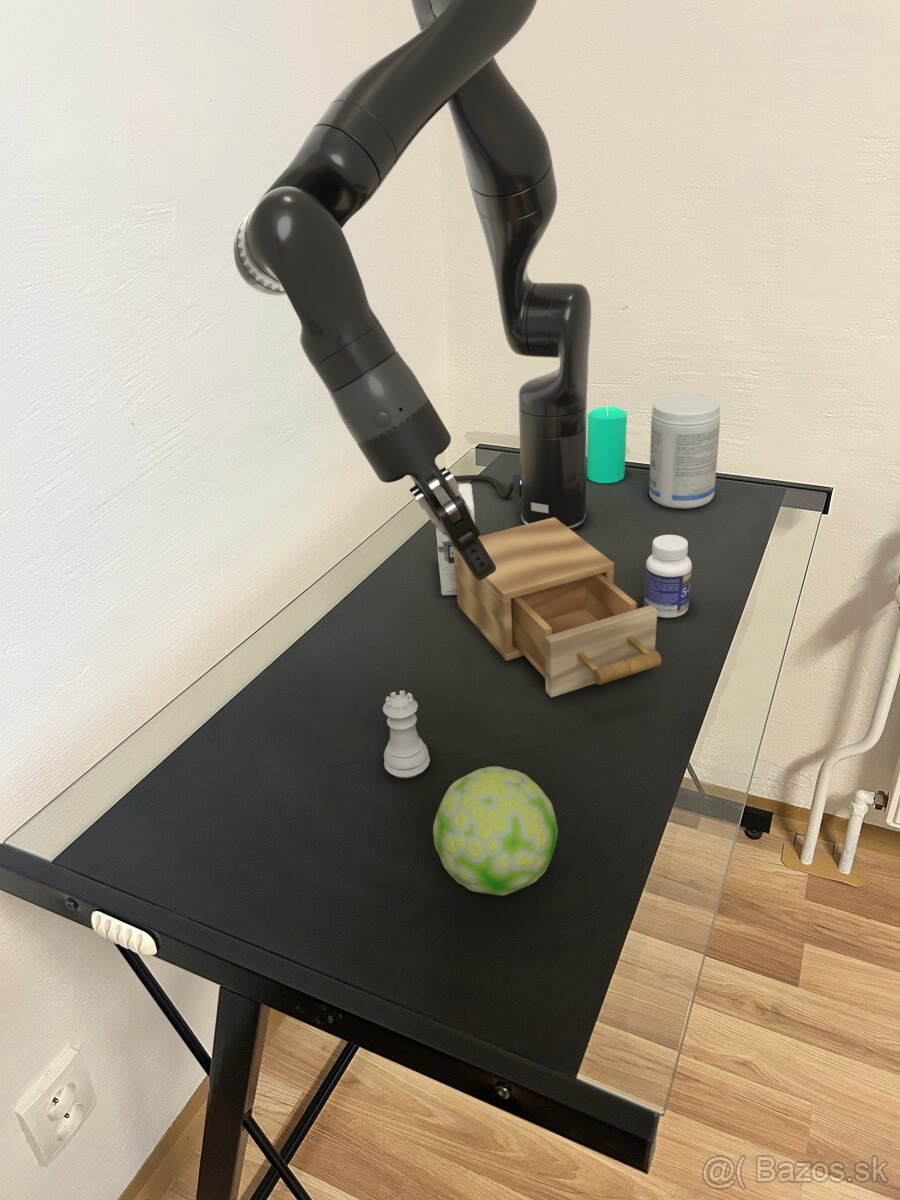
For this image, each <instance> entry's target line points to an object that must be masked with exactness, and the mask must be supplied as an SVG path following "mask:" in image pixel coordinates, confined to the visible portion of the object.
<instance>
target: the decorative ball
mask: <svg viewBox="0 0 900 1200" xmlns="http://www.w3.org/2000/svg"><path fill="white" fill-rule="evenodd" d="M555 814H556V813H555V811H554V808H553V803H552V801H551V800H550V799H549V797H548V796H547V795H546V793H545V792H544V791H543V790H542V789H541V787H540V786H539V785H538V784H537V782H535V781H533V780H532V779H531V778H530V777H529V776H528V775H527V774H526V773H523V772H521V771H519V770H517V769H516V770H515V769H510V768H506V767H502V766H487V767H482V768H479V769H476V770H474V771H472V772H470V773H468V774H466V775H464V776H462V777H461V778H458V779H457V780H455V781H454V782H453V783H452V784H451V785H450V786H449V787H448V788H447V790H446V792H445V793H444V795H443V798H442V799H441V801H440V804H439V806H438V809H437V811H436V814H435V818H434V822H433V824H432V825H433V826H432V834H433V844H434V847H435V850H436V852H437V854H438V856H439V859H440V861H441V864H442V866H443V868H444V869H445V871H446V872H447V873H448V875H449V876H450V877H451V878H452V879H454V881H455V882H456V883H458V884H459V885H461V886H463V887H465V889H467V890H469V891H472V892H474V893H480V894H487V895H494V896H501V897H502V896H503V897H505V896H506V895H509V894H513V893H515V892H518V891H519V890H522V889H525V888H526V887H529V886H530V885H533V884H534V883H536V882H537V881H538V880H539V879H540V877H542V876H543V875H544V874H545V873H546V871H547V869H548V867H549V865H550V863H551V860H552V858H553V855H554V851H555V849H556V845H557V841H558V835H559V830H558V829H559V828H558V824H557V818H556V817H557V816H556V815H555Z"/></svg>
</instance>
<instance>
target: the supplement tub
mask: <svg viewBox="0 0 900 1200" xmlns="http://www.w3.org/2000/svg"><path fill="white" fill-rule="evenodd" d="M720 407H721V404H720V402H719V400H718V399H717V398H715V397H712V396H710V395H706V394H700V393H674V394H668V395H664V396H661V397H659V398H657V399H655V400H654V402H653V404H652V410H651V422H650V423H651V424H650V454H649V455H650V456H649V484H648V485H649V491H648V493H649V494H648V495H649V497H650V498H651V500H652V501H653V502H654V503H656V504H658V505H660V506H662V507H666V508H669V509H683V510H687V509H689V510H690V509H695V508H700V507H703V506H704V505H707V504H708V503H710V502H711V501H712V500H713V499H714V496H715V493H716V480H717V479H716V478H717V467H718V465H717V464H718V454H719V453H718V452H719V439H720V426H721V425H720V424H721V412H720V409H721V408H720Z"/></svg>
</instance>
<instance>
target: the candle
mask: <svg viewBox="0 0 900 1200" xmlns="http://www.w3.org/2000/svg"><path fill="white" fill-rule="evenodd" d="M627 419H628V411H625V410H623V409H621V408H619V407H617V406H609V403H608V402H607V403H606V406H604V407H597V408H594V409H592V410H591V411H589V412H588V413H587V431H586V478H588V480H589V481H592V482H595V483H598V484H611V483H618V482H620V481H622V480H624V478H625V475H626V474H625V473H626V447H627V446H626V445H627V423H628V422H627V421H628V420H627Z"/></svg>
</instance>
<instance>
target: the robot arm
mask: <svg viewBox="0 0 900 1200" xmlns="http://www.w3.org/2000/svg"><path fill="white" fill-rule="evenodd" d="M409 1H410V4H411V9H412V12H413V15H414V18H415V20H416V24H417V26H418V30H419V33H417V34H416V35H414V36H413V37H411V38H410V39H408V40H407V41H406V42H404V43H403V44H401V45H399V46H398V47H396V48H395V49H393V50H391V51H390V52H388V53H387V54H384V55H383V56H382V57H380V58H378V59H377V60H375V61H374V62H372V63H371V64H370V65H368V66H367V67H366V68H364V69H363V70H361V71H360V72H359V73H358V74H356V75H355V76H354V77H353V78H352V79H351V80H349V82H347V83H346V84H345V86H343V87H342V88H341V89H340V91H339V92H338V93H337V94H336V95H335V97H334V98H333V99H332V101H331V102H330V103H329V105H328V106H327V107H326V109H324V111H323V112H322V114H321V116H320V117H319V118H318V120H316V122H315V123H314V125H313V126H312V128H311V129H310V131H309V132H308V133H307V135H306V136H305V137H304V140H303V141H302V143H301V145H300V146H299V148H298V150H297V151H296V153H295V155H294V157H293V158H292V160H291V161H290V162H289V164H288V165H287V166H286V168H285V169H284V170H283V172H282V173H280V174H279V176H278V177H277V178H276V179H275V180H274V181H273V183H272V184H271V185H270V186H269V187H268V189H266V191H265V192H264V193H263V195H262V196H260V198H259V200H258V201H256V203H255V204H254V205H253V207H252V208H251V209H250V210H249V211H248V213H247V214H246V215H245V216H244V218H243V219H242V220H241V222H240V223H239V225H238V226H237V228H236V231H235V233H234V237H233V241H232V255H233V262H234V266H235V268H236V271H237V273H238V274H239V276H240V278H241V279H242V281H244V283H245V284H246V285H248V286H249V287H250V288H251V289H252V290H254V291H256V292H258V293H260V294H262V295H265V296H271V297H283V296H286V298H288V301H289V302H290V304H291V307H292V308H293V311H294V312H295V314H296V316H297V319H298V321H299V324H300V327H299V332H298V344H299V347H300V349H301V351H302V353H303V355H304V357H305V359H306V360H307V363H308V364H309V366H310V367H311V368H312V370H313V371H314V374H315V375H316V376H317V378H318V380H319V381H320V383H321V384H322V387H324V389H325V390H326V392H327V393H328V395H329V397H330V400H331V401H332V403H333V406H334V408H335V409H336V412H337V415H338V416H339V418H340V420H341V421H342V423H343V425H344V426H345V428H346V429H347V430H348V432H349V434H350V435H351V437H352V438H353V441H355V443H356V445H357V447H358V448H359V449H360V451H361V453H362V454H363V456H364V458H365V459H366V461H367V462H368V464H369V466H370V467H371V468H372V470H373V471H374V473H375V475H376V476H377V478H378V480H380V482H382V483H385V484H387V483H388V484H389V483H394V482H397V481H400V480H402V479H403V478H405V477H407V476H410V478H411V480H412V482H413V483H414V484H413V485H412V486H410V487H409V488H408V491H409V493H410V494H411V495H412V497H413V499H414V500H415V502H416V503H417V504H418V505H419V506H420V508H421V509H422V510H424V512H425V513H426V515H427V516H428V518H429V519H430V521H431V523H432V524H433V525H434V526H435V528H436V527H437V529H438V530H439V531H440V532H441V533H443V534H445V535H446V536H447V537H448V538H449V539H448V541H449V542H450V544H452V546H453V547H454V548H456V549H457V551H458V552H459V553H460V555H461V556H462V558H463V560H464V561H465V563H466V565H467V566H468V568H469V569H470V571H471V573H472V574H473V575H474V577H475V578H476V579H477V580H483V579H484V578H486V577H487V576H489V575H490V574H492V573H494V572H495V570H496V566H495V564H494V563H493V561H492V559H491V558H490V556H489V554H488V553H487V551H486V549H485V548H484V546H483V544H482V543H481V541H480V539H479V538H478V537H479V536H481V534H480V529H479V528H478V526H477V525H476V523H475V524H474V522H473V520H472V518H471V511H470V509H469V507H468V505H467V504H466V502H465V500H464V499H463V497H462V495H461V494H460V492H459V490H458V489H459V483H458V482H465V481H483V482H488V483H490V484H492V485H493V486H494V488H495V490H496V493H497V495H498V496H499V497H500V498H501V499H508V498H509V497H510V496H511V495H512V493H513V494H515V495H516V496H517V497H518V498H520V521H521V524H522V525H526V524H530V523H534V522H538V521H541V520H545V519H549V518H553V517H555V518H556V519H557V520H559V521H560V522H561V523H563V524H564V525H565V526H566V527H568V528H569V529H570V530H572V531H575V530H577V529H579V528H581V527H582V526H584V524H585V523H586V521H587V512H586V501H587V499H586V496H587V418H588V413H587V410H588V409H587V407H588V382H589V357H590V340H591V328H592V301H591V296H590V293H589V290H588V288H587V287H586V286H585V285H583V284H582V283H573V282H563V283H562V282H533V281H532V280H531V279H530V277H529V274H528V273H529V272H528V266H529V263H530V262H531V259H532V256H533V254H534V252H535V250H536V248H537V247H538V245H539V243H540V242H541V240H542V238H543V237H544V235H545V233H546V232H547V229H548V227H549V225H550V223H551V221H552V218H553V217H554V213H555V211H556V207H557V203H558V188H557V182H556V176H555V171H554V165H553V158H552V153H551V149H550V144H549V141H548V138H547V136H546V134H545V131H544V129H543V127H542V126H541V125H540V123H539V121H538V120H537V118H536V116H535V115H534V113H533V112H532V111H531V109H530V108H529V106H528V105H527V103H525V101H524V99H522V97H521V95H520V94H519V93H518V92H517V91H516V89H515V88H514V87H513V85H512V84H511V83H510V81H509V80H508V78H507V76H506V75H505V74H504V72H503V71H502V69H501V68H500V66H499V63H498V62H497V59H496V58H495V56H497V55H498V54H499V53H500V52H501V51H502V50H503V49H504V48H505V47H506V46H507V45H508V44H509V43H510V42H511V41H512V40H513V39H514V38H515V37H516V36H517V35H518V34H519V32H521V30H522V29H523V28H524V26H525V25H526V23H527V22H528V20H529V19H530V17H531V16H532V14H533V11H534V9H535V7H536V5H537V2H538V0H409ZM446 104H447V107H448V110H449V114H450V118H451V120H452V124H453V127H454V130H455V133H456V137H457V141H458V144H459V148H460V150H461V154H462V158H463V162H464V167H465V171H466V176H467V180H468V184H469V187H470V191H471V195H472V199H473V202H474V207H475V209H476V212H477V215H478V218H479V221H480V226H481V228H482V232H483V235H484V238H485V243H486V247H487V250H488V254H489V257H490V262H491V266H492V271H493V276H494V281H495V286H496V287H495V288H496V293H497V298H498V299H497V300H498V304H499V305H498V306H499V311H500V316H501V322H502V327H503V332H504V336H505V339H506V342H507V344H508V347H509V348H510V350H511V351H512V352H513V353H515V354H516V355H519V356H523V357H531V358H551V359H552V358H553V359H555V358H556V359H559V366H558V368H556V369H555V370H554V371H551V372H550V373H547V374H544V375H540V376H538V377H534V378H532V379H529V380H528V381H525V382H524V383H523V384H522V385H521V386H520V387H519V390H518V425H519V427H518V428H519V456H518V458H519V459H518V460H519V461H518V462H519V474H514V475H512V482H511V483H510V484H509V486H508V487H507V489H506V491H505V492H504V491H503V488H502V486H501V484H500V483H499V481H498V480H497V479H496V478H494V477H492V476H489V475H484V474H483V475H482V474H466V475H465V474H464V475H453V474H452V472H451V471H450V470H448V469H447V468H446V467H445V465H443V466H442V467H440V468H439V466H438V465H437V463H436V459H437V457H438V456H439V455H441V454H443V453H444V452H445V451H446V450H447V449H448V447H449V445H450V444H451V442H452V437H451V434H450V433H449V431H448V428H447V427H446V426H445V424H444V421H442V418H441V417H440V415H439V414H438V411H437V410H436V409H435V407H434V405H433V403H432V402H431V400H430V398H429V396H428V394H426V392H425V390H424V388H423V386H422V385H421V383H420V381H419V380H418V378H417V376H416V374H415V373H414V372H413V370H412V369H411V367H410V366H409V365H408V363H407V362H406V361H405V360H404V359H403V358H402V356H401V355H400V353H399V352H398V350H397V348H396V347H395V345H394V344H393V343H394V342H393V341H392V340H391V338H390V337H389V335H388V333H387V331H386V330H385V328H384V327H383V324H382V323H381V321H380V320H379V318H378V317H377V315H376V314H375V312H374V310H373V309H372V308H371V306H370V303H369V300H368V297H367V293H366V289H365V286H364V283H363V280H362V277H361V274H360V272H359V269H358V267H357V263H356V261H355V258H354V256H353V254H352V250H351V248H350V245H349V242H348V240H347V238H346V235H345V233H344V231H343V228H344V227H345V225H346V224H347V222H348V221H350V220H351V218H353V216H355V215H356V214H357V213H358V212H360V211H361V209H363V208H364V207H365V206H366V205H367V203H368V202H369V201H371V199H372V198H373V197H374V195H375V194H376V193H377V191H378V190H379V189H380V187H381V186H382V184H383V183H384V182H385V180H386V179H387V178H388V176H389V174H390V173H391V172H392V170H393V169H394V168H395V166H396V165H397V164H398V162H399V160H400V159H401V158H402V157H403V155H404V153H405V152H406V150H407V149H408V148H409V147H410V145H411V144H412V143H413V141H414V140H415V139H416V138H417V136H418V135H419V134H420V133H421V131H422V130H423V129H424V128H425V127H426V126H427V124H429V122H430V121H431V120H432V119H433V118H434V117H435V116H436V115H437V114H438V113H439V112H440V111H441V109H443V108H444V106H445V105H446Z"/></svg>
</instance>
